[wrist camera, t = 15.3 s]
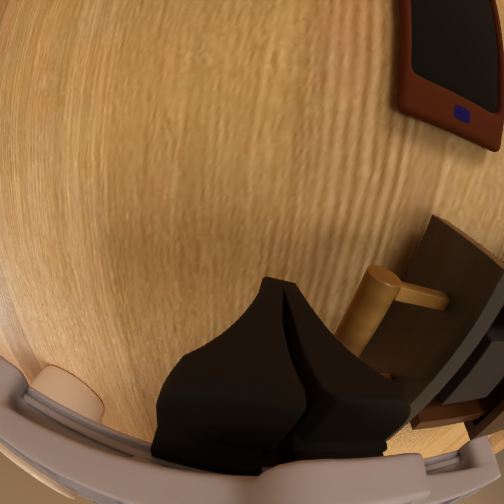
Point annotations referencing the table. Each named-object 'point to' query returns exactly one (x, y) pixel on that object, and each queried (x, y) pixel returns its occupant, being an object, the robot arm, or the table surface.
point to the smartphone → (453, 67)
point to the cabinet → (487, 423)
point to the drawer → (428, 322)
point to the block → (479, 368)
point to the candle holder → (69, 395)
